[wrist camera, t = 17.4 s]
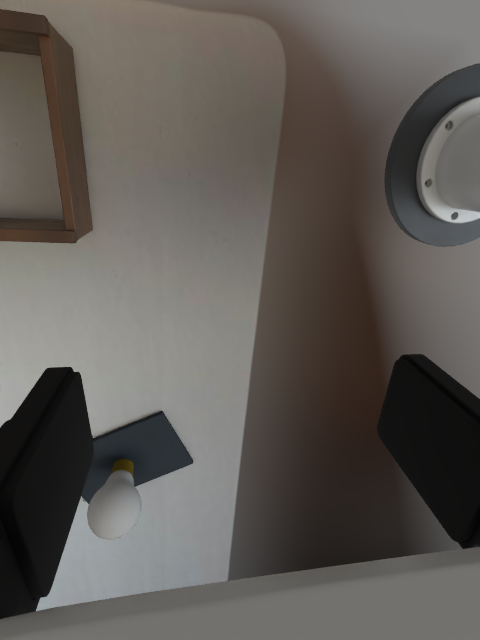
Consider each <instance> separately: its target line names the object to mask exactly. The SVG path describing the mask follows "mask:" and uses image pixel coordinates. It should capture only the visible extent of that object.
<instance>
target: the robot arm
mask: <svg viewBox="0 0 480 640" xmlns="http://www.w3.org/2000/svg"><path fill="white" fill-rule="evenodd" d="M416 182H417V191H418V195H419V198H420V200H421V202H422V204H423V206H424V208H425V209H426V210H427V211H428V213H429V214H431V215H432V216H434V217H435V218H436V219H439V220H442V221H444V222H449V223H466V222H471V221H474V220H476V219H479V218H480V97H476V98H472V99H470V100H467V101H465V102H462V103H460V104H459V105H457V106H456V107H454V108H453V109H451V110H450V111H449V112H448V113H447V114H446V115H445V116H443V117H442V118H441V119H440V121H439V122H438V123H437V124H436V126H435V127H434V128H433V129H432V131H431V133H430V134H429V136H428V138H427V139H426V141H425V144H424V146H423V148H422V151H421V153H420V157H419V161H418V165H417V174H416ZM377 433H378V436H379V438H380V439H381V441H382V442H383V444H384V445H385V446H386V448H387V449H388V451H389V452H390V453H391V455H392V456H393V458H394V459H395V460H396V462H397V463H398V464H399V466H400V467H401V469H402V470H403V472H404V473H405V474H406V476H407V477H408V479H409V480H410V481H411V483H412V484H413V486H414V487H415V488H416V490H417V491H418V493H419V494H420V495H421V497H422V498H423V500H424V501H425V503H426V504H427V505H428V507H429V508H430V509H431V511H432V512H433V514H434V515H435V517H436V518H437V519H438V521H439V522H440V523H441V525H442V526H443V528H444V529H445V531H446V532H447V533H448V535H449V536H450V537H451V538H452V539H453V540H454V541H456V542H458V543H459V544H460V546H461V547H462V549H460V550H452V551H445V552H437V553H429V554H421V555H414V556H406V557H399V558H392V559H384V560H377V561H370V562H362V563H355V564H347V565H340V566H333V567H325V568H318V569H311V570H304V571H296V572H289V573H282V574H275V575H268V576H261V577H254V578H246V579H239V580H232V581H225V582H218V583H211V584H204V585H197V586H190V587H183V588H176V589H169V590H162V591H155V592H148V593H142V594H136V595H129V596H123V597H117V598H111V599H105V600H99V601H92V602H86V603H80V604H74V605H68V606H61V607H55V608H50V609H46V610H41V611H36V608H37V605H38V603H39V600H40V597H46V596H47V595H48V594H49V592H50V590H51V587H52V584H53V581H54V578H55V575H56V572H57V569H58V566H59V563H60V559H61V556H62V553H63V550H64V547H65V544H66V541H67V538H68V535H69V532H70V528H71V525H72V522H73V519H74V516H75V513H76V510H77V507H78V504H79V501H80V497H81V494H82V491H83V488H84V485H85V482H86V479H87V476H88V473H89V470H90V466H91V463H92V460H93V455H94V445H93V440H92V434H91V429H90V423H89V418H88V412H87V406H86V401H85V395H84V390H83V384H82V379H81V375H80V373H79V372H74V371H73V369H72V368H71V367H56V368H47V369H46V370H45V371H44V373H43V374H42V376H41V377H40V378H39V380H38V381H37V383H36V384H35V386H34V387H33V388H32V390H31V391H30V393H29V394H28V396H27V397H26V398H25V400H24V401H23V403H22V404H21V406H20V407H19V408H18V410H17V411H16V413H15V414H14V416H13V417H12V418H11V419H10V420H8V421H6V422H5V423H4V424H3V425H2V426H1V428H0V640H480V399H479V398H477V397H476V396H475V395H474V394H472V393H471V392H470V391H469V390H467V389H466V388H465V387H464V386H462V385H461V384H460V383H458V382H457V381H456V380H455V379H453V378H452V377H451V376H450V375H448V374H447V373H446V372H444V371H443V370H442V369H441V368H439V367H438V366H437V365H436V364H435V363H433V362H432V361H431V360H429V359H428V358H427V357H425V356H424V355H422V354H411V355H402V356H401V357H400V358H399V360H397V361H396V362H395V364H394V367H393V370H392V374H391V378H390V381H389V385H388V388H387V392H386V396H385V399H384V403H383V406H382V410H381V414H380V417H379V421H378V425H377ZM35 611H36V612H35Z"/></svg>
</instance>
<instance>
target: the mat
mask: <svg viewBox="0 0 480 640" xmlns="http://www.w3.org/2000/svg"><path fill="white" fill-rule="evenodd" d="M92 440H93V445H94V455H93V460H92V463H91V466H90V470H89V473H88V476H87V479H86V482H85V485H84V488H83V491H82V494H81V496H82V497H83V498H84V499H85V500H86V502H87V503H88V504H90V501H91V499H92V497H93V496H94V494H95V493H96V492H97V491H98V490H99V489H100V488H101V487H102V486H103V485H105V483H106V481H107V479H108V478H109V476H110V475H111V472H112V469H113V465H114V463H115V462H116V461H118V460H120V459H128V460H130V461H132V462H133V464H134V469H133V480H134V486H138V485H140V484H143V483H145V482H148V481H150V480H153V479H155V478H158V477H160V476H163V475H165V474H168V473H170V472H173V471H175V470H178V469H180V468H183V467H185V466H188V465H190V464H193V459H192V458H191V456H190V455H189V453H188V451H187V450H186V448H185V447H184V445H183V443H182V442H181V440H180V439H179V437H178V435H177V434H176V432H175V431H174V429H173V427H172V426H171V424H170V423H169V421H168V419H167V418H166V416H165V415H164V413H163V411H161V412H159V413H156V414H154V415H151V416H149V417H146V418H144V419H141V420H139V421H136V422H134V423H131V424H129V425H126V426H124V427H121V428H119V429H117V430H114V431H112V432H109V433H107V434H104V435H102V436H99V437H97V438H94V439H92Z"/></svg>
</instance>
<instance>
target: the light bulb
mask: <svg viewBox="0 0 480 640" xmlns="http://www.w3.org/2000/svg"><path fill="white" fill-rule="evenodd" d="M133 469H134V464H133V462H132V461H130V460H128V459H120V460H118V461H116V462H115V463H114V465H113V469H112V472H111V475H110V476H109V478H108V479H107V481H106V483H105V485H103V486H102V487H101V488H100V489H99V490H98V491H97V492H96V493H95V494H94V496H93V497H92V499H91V501H90V504H89V506H88V512H87V519H88V524H89V526H90V529H91V530H92V532H93V533H94V534H95V535H97V536H98V537H100V538H103V539H108V540H111V539H117V538H120V537H122V536H124V535H125V534H127V533H128V532H129V531H130V530H131V529H132V528H133V527H134V525H135V524H136V522H137V521H138V518H139V516H140V512H141V498H140V495H139V493H138V491H137V489H136V488H135V486H134V480H133Z"/></svg>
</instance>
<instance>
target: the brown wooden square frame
mask: <svg viewBox="0 0 480 640" xmlns="http://www.w3.org/2000/svg"><path fill="white" fill-rule="evenodd" d="M0 51H7V52H15V53H24V54H32V55H40V56H41V61H42V68H43V75H44V82H45V89H46V96H47V103H48V110H49V117H50V124H51V131H52V138H53V145H54V152H55V159H56V166H57V172H58V179H59V186H60V193H61V200H62V207H63V214H64V221H59V220H35V219H12V218H0V241H18V242H49V243H76V242H77V240H79V239H80V238H81V237H83V236H84V235H86V234H87V233H89V232H90V231H92V230H93V229H92V220H91V211H90V203H89V194H88V185H87V176H86V167H85V158H84V149H83V140H82V131H81V122H80V113H79V104H78V95H77V86H76V77H75V68H74V59H73V50H72V47H71V46H70V45H69V44H68V43H67V42H66V41H65V39H64V38H63V37H62V36H61V35H60V34H59V33H58V32H57V31H56V30H55V28H54V27H53V26H52V25H51V24H50V23H49V22H48V19H47V18H46V17H45V16H44V15H37V14H30V13H23V12H16V11H9V10H2V9H0Z"/></svg>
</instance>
